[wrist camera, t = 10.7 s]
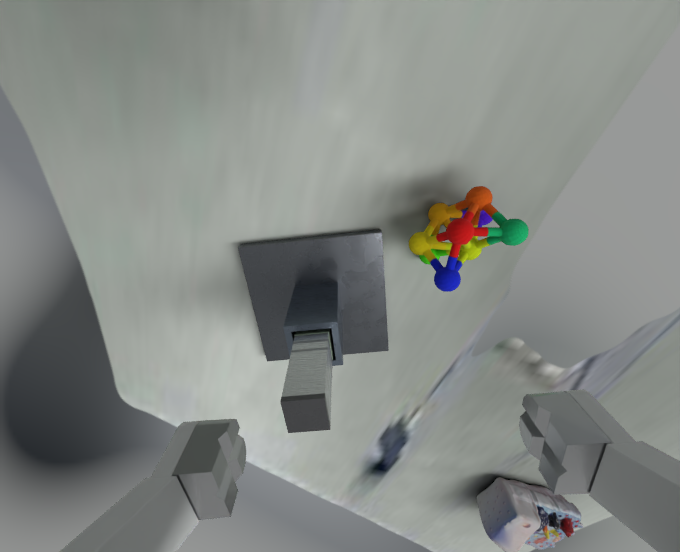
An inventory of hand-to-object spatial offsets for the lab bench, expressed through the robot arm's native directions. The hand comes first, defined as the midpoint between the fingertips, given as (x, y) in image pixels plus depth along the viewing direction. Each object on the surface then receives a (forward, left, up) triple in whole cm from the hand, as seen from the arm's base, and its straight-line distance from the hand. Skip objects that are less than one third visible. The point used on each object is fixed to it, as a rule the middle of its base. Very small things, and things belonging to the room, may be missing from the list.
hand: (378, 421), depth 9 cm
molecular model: (+6, +13, -37) cm, 40 cm away
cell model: (+70, +31, -38) cm, 85 cm away
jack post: (+16, -6, -31) cm, 36 cm away
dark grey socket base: (+16, -6, -37) cm, 41 cm away
